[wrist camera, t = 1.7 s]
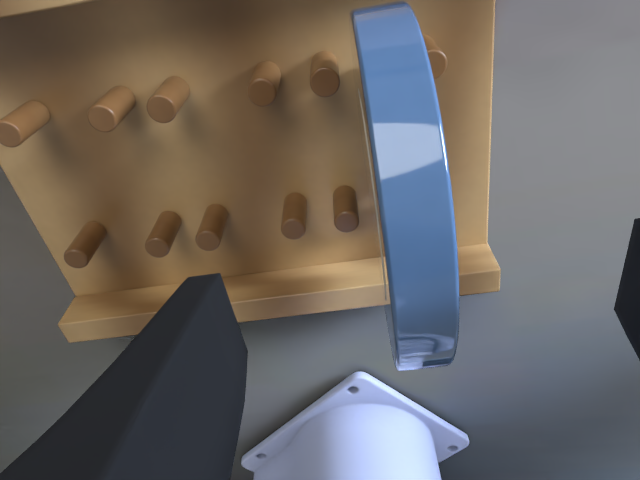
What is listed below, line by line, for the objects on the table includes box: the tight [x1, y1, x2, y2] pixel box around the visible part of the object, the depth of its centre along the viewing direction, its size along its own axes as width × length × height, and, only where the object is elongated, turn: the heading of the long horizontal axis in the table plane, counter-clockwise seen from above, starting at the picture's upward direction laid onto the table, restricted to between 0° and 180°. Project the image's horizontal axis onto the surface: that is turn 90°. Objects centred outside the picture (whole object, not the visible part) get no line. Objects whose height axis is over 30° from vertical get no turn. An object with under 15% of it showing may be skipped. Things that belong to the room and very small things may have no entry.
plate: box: [349, 1, 460, 371], centre depth 12 cm, size 1×8×8 cm, turn 9°
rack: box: [0, 0, 501, 343], centre depth 16 cm, size 16×12×3 cm
